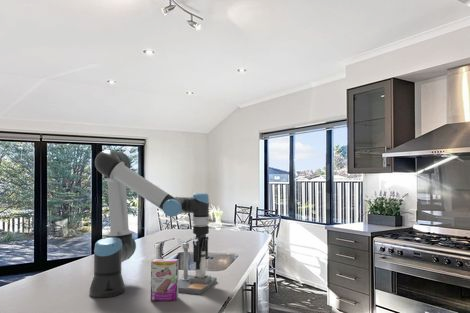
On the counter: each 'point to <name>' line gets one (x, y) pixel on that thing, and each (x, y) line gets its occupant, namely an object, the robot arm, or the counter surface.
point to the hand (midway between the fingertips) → (200, 274)
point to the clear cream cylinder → (202, 265)
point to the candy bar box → (164, 279)
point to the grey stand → (193, 280)
